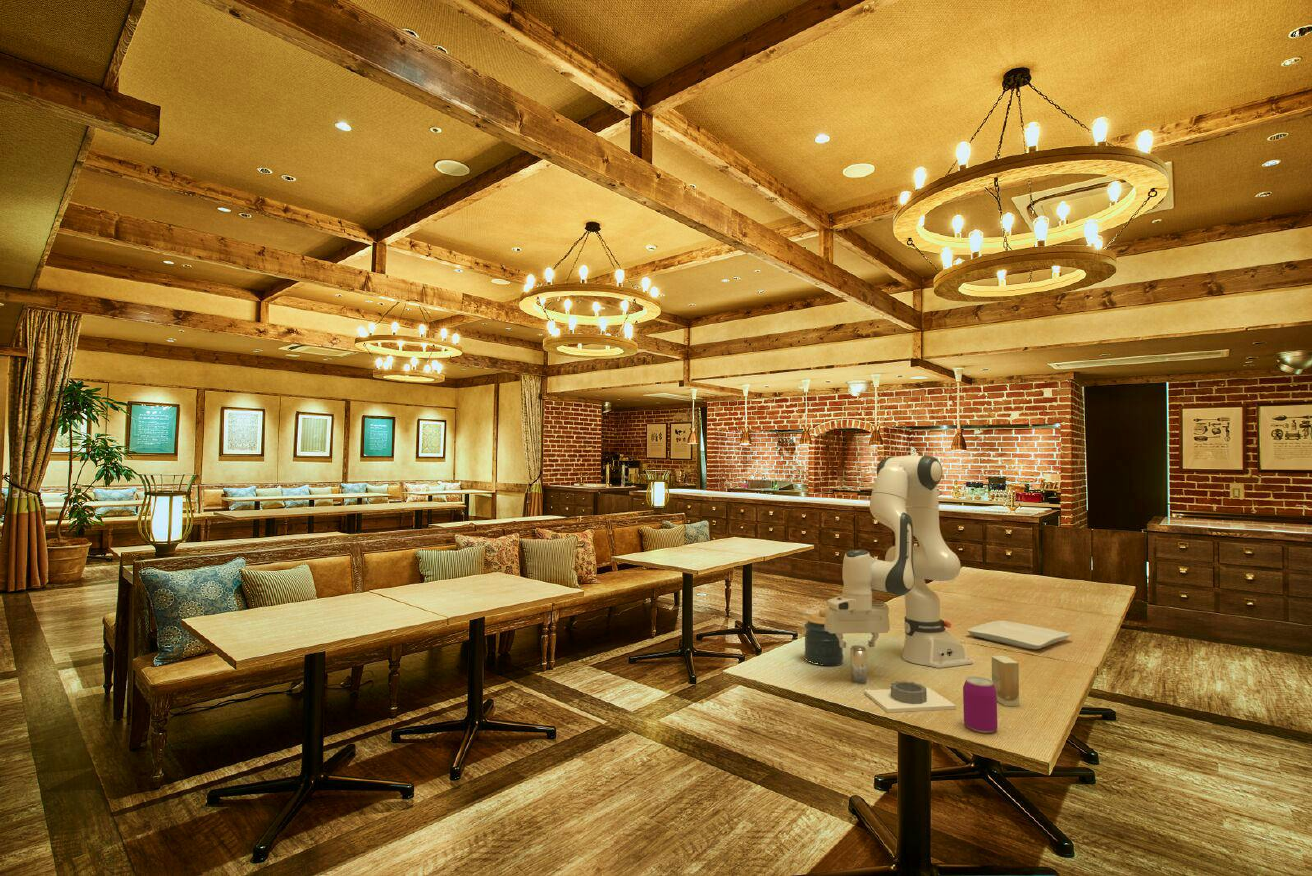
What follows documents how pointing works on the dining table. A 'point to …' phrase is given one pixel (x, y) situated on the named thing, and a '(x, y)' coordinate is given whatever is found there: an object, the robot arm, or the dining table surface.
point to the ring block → (909, 698)
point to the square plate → (1018, 634)
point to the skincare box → (1006, 680)
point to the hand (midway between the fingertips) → (857, 647)
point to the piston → (858, 664)
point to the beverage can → (980, 704)
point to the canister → (821, 642)
